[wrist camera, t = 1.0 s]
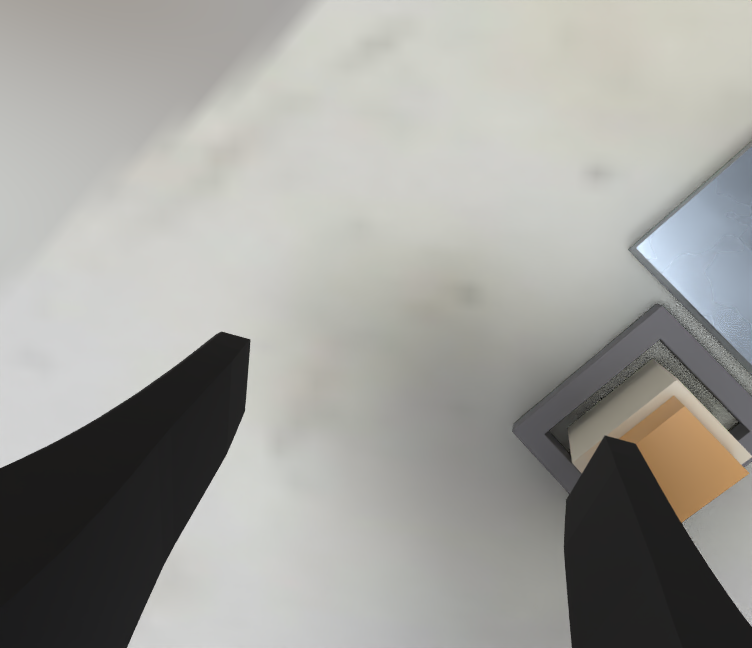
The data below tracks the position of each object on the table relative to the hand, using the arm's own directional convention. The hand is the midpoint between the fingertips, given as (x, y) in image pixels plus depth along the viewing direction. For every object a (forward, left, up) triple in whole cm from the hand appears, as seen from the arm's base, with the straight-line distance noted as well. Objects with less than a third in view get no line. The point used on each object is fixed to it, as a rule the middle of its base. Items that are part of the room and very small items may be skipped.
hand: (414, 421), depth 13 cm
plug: (-6, -2, -12) cm, 14 cm away
